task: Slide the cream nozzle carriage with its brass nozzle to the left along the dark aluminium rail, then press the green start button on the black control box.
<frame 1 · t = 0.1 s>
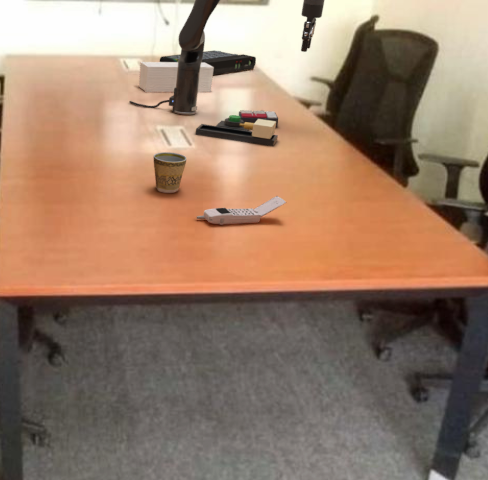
hand: (305, 49, 292), 29 cm above the table, tool pointing down, fingers open, 8 cm apart
button box: (233, 128, 302), on the table
computer keyboard: (207, 69, 402), on the table
rail: (236, 137, 291), on the table
mobile phone: (239, 221, 217), on the table
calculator: (257, 123, 312), on the table
stack of papers: (174, 89, 355), on the table
nozzle carriage: (256, 129, 287), point 4 cm above the table, slide at 0.0 cm
start button: (234, 118, 300), point 4 cm above the table, slide at 0.1 cm
ceramic cup: (169, 189, 236), on the table
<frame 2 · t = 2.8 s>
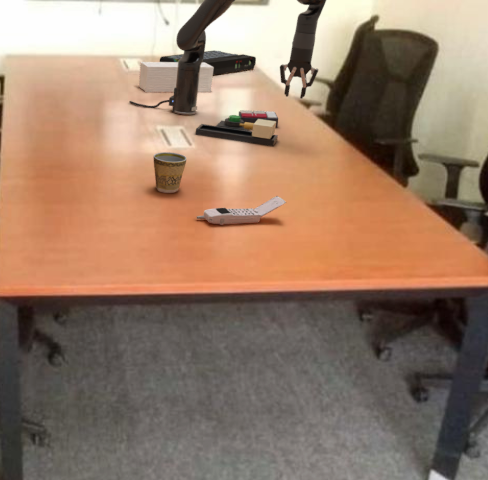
hand: (294, 96, 276), 17 cm above the table, tool pointing down, fingers open, 4 cm apart
nothing on the table moved.
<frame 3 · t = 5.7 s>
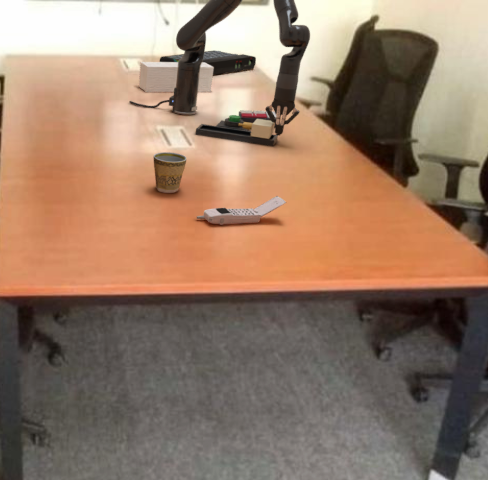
hand: (278, 134, 285), 3 cm above the table, tool pointing down, fingers closed
nozzle carriage: (255, 129, 287), point 4 cm above the table, slide at 0.4 cm, touching gripper
everything else where it was.
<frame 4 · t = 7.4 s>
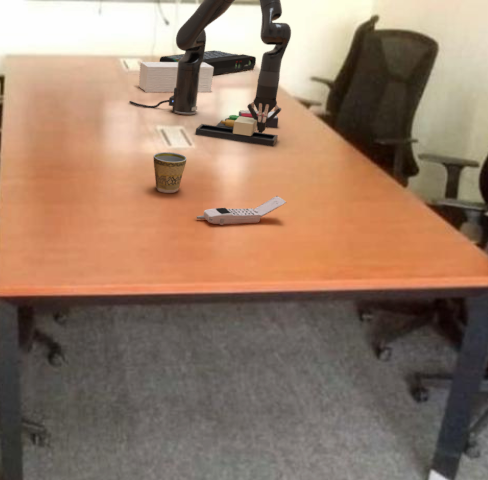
hand: (260, 132, 287), 3 cm above the table, tool pointing down, fingers closed
nozzle carriage: (237, 126, 288), point 4 cm above the table, slide at 7.2 cm, touching gripper
everything else where it was.
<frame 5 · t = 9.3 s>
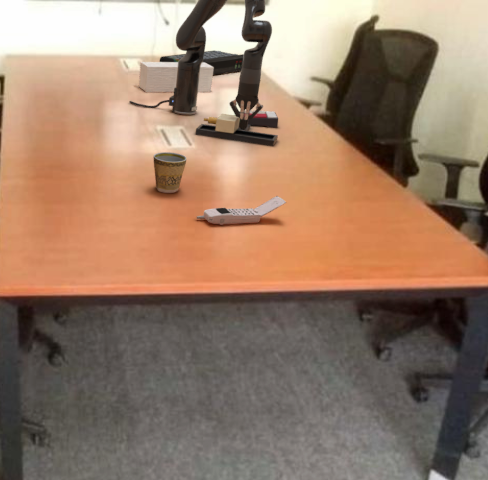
hand: (242, 129, 288), 3 cm above the table, tool pointing down, fingers closed
nozzle carriage: (220, 124, 290), point 4 cm above the table, slide at 14.0 cm, touching gripper
everything else where it was.
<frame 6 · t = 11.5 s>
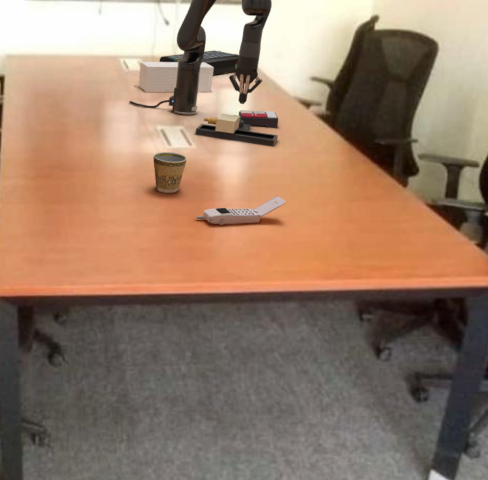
hand: (242, 103, 291), 11 cm above the table, tool pointing down, fingers closed
nozzle carriage: (220, 124, 290), point 4 cm above the table, slide at 14.0 cm
everything else where it was.
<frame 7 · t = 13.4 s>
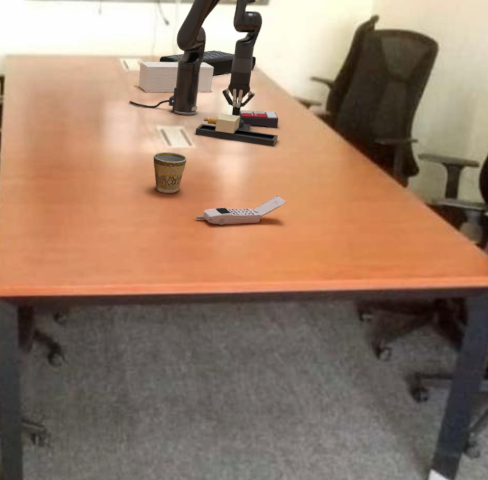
hand: (235, 116, 299), 5 cm above the table, tool pointing down, fingers closed
start button: (234, 119, 300), point 4 cm above the table, slide at -0.1 cm, touching gripper
everything else where it was.
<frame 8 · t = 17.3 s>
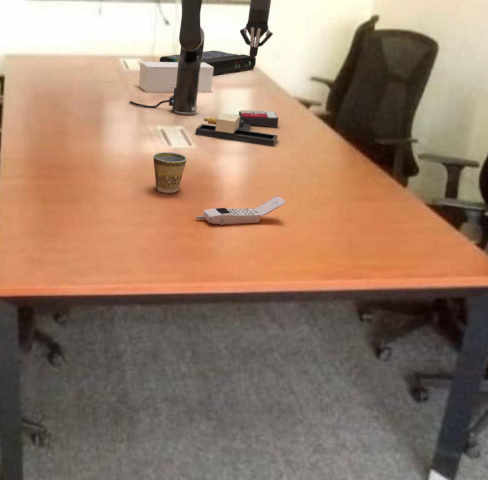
hand: (252, 57, 296), 25 cm above the table, tool pointing down, fingers closed
start button: (234, 118, 300), point 4 cm above the table, slide at 0.1 cm
everything else where it was.
at the end: nozzle carriage slide at 14.0 cm; start button pushed in 1.1 cm at the most during the clip, back to where it started at the end; start button slide at 0.1 cm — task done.
